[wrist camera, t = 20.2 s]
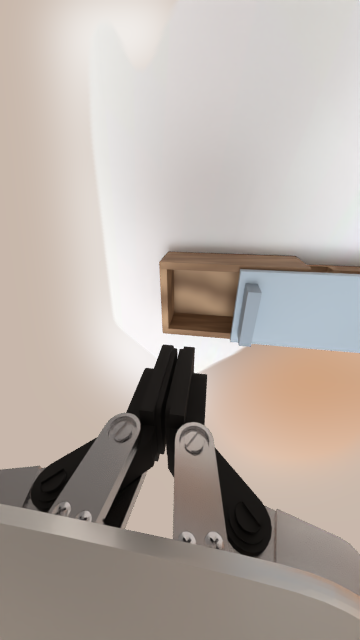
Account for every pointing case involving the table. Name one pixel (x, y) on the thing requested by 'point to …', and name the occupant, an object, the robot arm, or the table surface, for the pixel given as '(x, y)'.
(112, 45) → the table surface
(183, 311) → the toolbox
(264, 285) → the lid
